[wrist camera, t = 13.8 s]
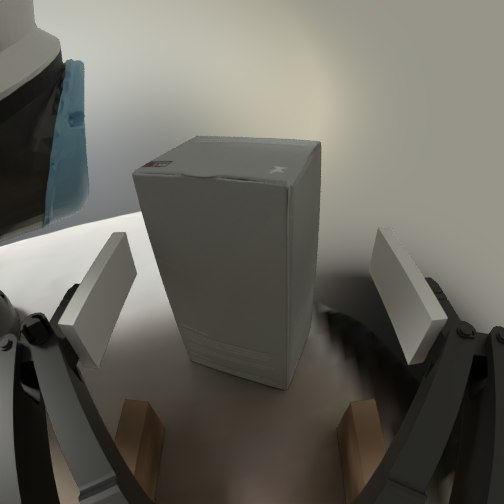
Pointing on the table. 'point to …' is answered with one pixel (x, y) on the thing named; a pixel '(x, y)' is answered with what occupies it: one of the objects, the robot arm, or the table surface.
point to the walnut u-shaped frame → (349, 434)
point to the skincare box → (237, 248)
